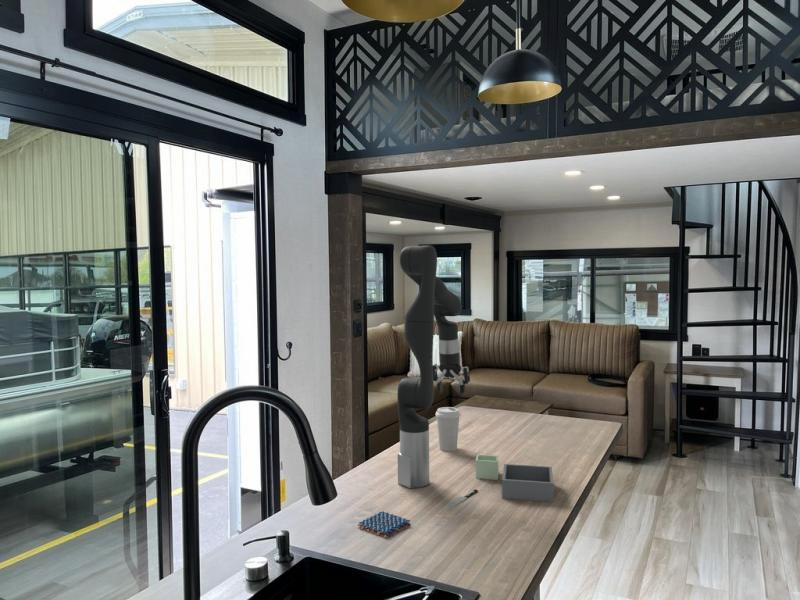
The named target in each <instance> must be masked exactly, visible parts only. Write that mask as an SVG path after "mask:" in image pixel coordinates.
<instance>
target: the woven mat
mask: <svg viewBox="0 0 800 600" xmlns="http://www.w3.org/2000/svg"><path fill="white" fill-rule="evenodd" d="M410 522H411V520H410V519H407V518H406V517H405V518H403V517H402V516H398V515H395V514H394V513H389V512H387V511H379V512H378V513H375V514H374V515H371V516H370V517H367V518H366V519H363V520H362V521H358V524H357V526H358V529H361V530H363V531H365V532H366V531H367V532H368V533H369V532H370V533H371V534H374V535H377V536H379V537H380V538H382V537H383V538H384V539H385V538H386V539H387V538H388V537H391V536H392V535H394V534H395V533H398V532H399V531H401V530H403V529H405V528H407V527H408V526H410V525H411V523H410Z"/></svg>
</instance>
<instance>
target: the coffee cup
mask: <svg viewBox="0 0 800 600" xmlns="http://www.w3.org/2000/svg"><path fill="white" fill-rule="evenodd" d="M461 415H462V414H461V412H460V410H459V408H457V407H453V406H451V407H450V406H444V407H438V408H437V410H436V411H435V416H436V422H437V434H438V435H437V436H438V445H439V450H440V449H441V450H440V451H442V450H444V451H443V452H454V451H453V450H455V451H456V449H458V437H459V436H458V435H459V425H460V417H461Z"/></svg>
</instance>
